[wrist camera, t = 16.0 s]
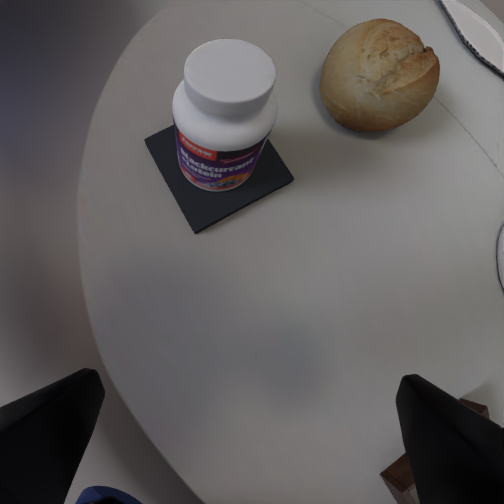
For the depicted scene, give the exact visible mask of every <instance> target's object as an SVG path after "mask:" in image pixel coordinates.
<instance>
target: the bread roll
mask: <svg viewBox="0 0 504 504" xmlns="http://www.w3.org/2000/svg"><path fill="white" fill-rule="evenodd" d="M439 74H440V65H439V60H438V57H437V56H436V55H435V54H434V52H433V49H432V48H431V47H428V46H427V47H426V48H425V49H424V45H423V43H422V41H421V40H420V37H419V36H417V35H416V34H415V33H413V32H412V31H411V30H409V29H408V28H406V27H404V26H403V25H402V24H400V23H398V22H395V21H392V20H387V19H375V20H370V21H366V22H363V23H360V24H357V25H355V26H353V27H352V28H350V29H349V30H348V31H347V32H345V33H344V34H343V35H342V36H341V37H340V38H339V39H338V40H337V41H336V43H335V44H334V45H333V47H332V48H331V50H330V52H329V53H328V56H327V58H326V60H325V63H324V65H323V69H322V73H321V79H320V94H321V98H322V101H323V102H324V104H325V106H326V109H327V110H328V112H329V113H330V115H331V116H332V117H333V118H334V119H335V121H336V122H338V123H340V124H341V125H343V126H345V127H348V128H351V129H353V130H357V131H361V132H372V131H384V130H387V129H390V128H394V127H398V126H400V125H403V124H404V123H406V122H408V121H409V120H411V119H413V118H414V117H416V116H417V115H418V114H419V113H420V112H421V111H422V110H423V109H424V108H425V107H426V106H427V105H428V103H429V102H430V101H431V99H432V97H433V95H434V93H435V91H436V88H437V85H438V81H439Z"/></svg>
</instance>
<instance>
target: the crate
mask: <svg viewBox="0 0 504 504" xmlns="http://www.w3.org/2000/svg"><path fill="white" fill-rule="evenodd" d="M459 401H461V402H462V403H464V404H465V405H467V406H469V407H470V408H472V409H473V410H475V411H477V412H478V413H480V414H481V415H483V416H485V417H486V418H488V419H489V413H488V408H487V406H485V405H481V404H478V403H475V402H471V401H468V400H465V399H462V398H460V399H459ZM380 475H381V477H382V478H383V480H384V482H385V483H386V485H387V487H388V488H389V490H390V492H391V493H392V495H393V496H394V498H395V500H396V501H397V503H398V504H415V502H414V500H413V498H412V496H411V495H410V493H409V491H410V490H412V489H413V488H414V487H415V482H414V478H413V475H412V471H411V468H410V464H409V461H408V458H407V454H406V453H405V454H404V455H403V456H402V457H400V458H399V459H398V460H397V461H396V462H394V463H393V464H392V465H391V466H390V467H388V468H387V469H386V470H385V471H383V472H382V473H381V474H380Z"/></svg>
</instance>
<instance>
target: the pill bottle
mask: <svg viewBox="0 0 504 504" xmlns="http://www.w3.org/2000/svg"><path fill="white" fill-rule="evenodd" d="M275 80H276V67H275V65H274V62H273V60H272V59H271V58H270V56H269V55H268V54H267V53H266V52H265V51H263V50H262V49H260V48H259V47H257V46H256V45H254V44H251V43H249V42H246V41H242V40H237V39H219V40H213V41H210V42H207V43H205V44H203V45H201V46H199V47H197V48H196V49H195V50H194V51H193V52H192V53H191V54H190V55H189V56H188V58H187V60H186V63H185V67H184V79H183V80H182V81H181V83H180V84H179V86H178V87H177V89H176V91H175V94H174V97H173V102H172V112H173V121H174V128H175V136H176V144H177V154H178V160H179V164H180V167H181V170H182V172H183V174H184V175H185V177H186V178H187V179H188V180H189V181H190V182H191V183H192V184H194V185H195V186H197V187H199V188H201V189H204V190H208V191H216V192H218V191H226V190H230V189H233V188H235V187H237V186H239V185H240V184H242V183H243V182H244V181H245V180H246V179H247V178H248V177H249V176H250V174H251V173H252V171H253V169H254V167H255V165H256V162H257V160H258V158H259V156H260V153H261V151H262V149H263V147H264V145H265V142H266V140H267V138H268V136H269V134H270V132H271V129H272V127H273V125H274V123H275V120H276V116H277V111H278V104H277V99H276V95H275V93H274V91H273V86H274V83H275Z"/></svg>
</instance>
